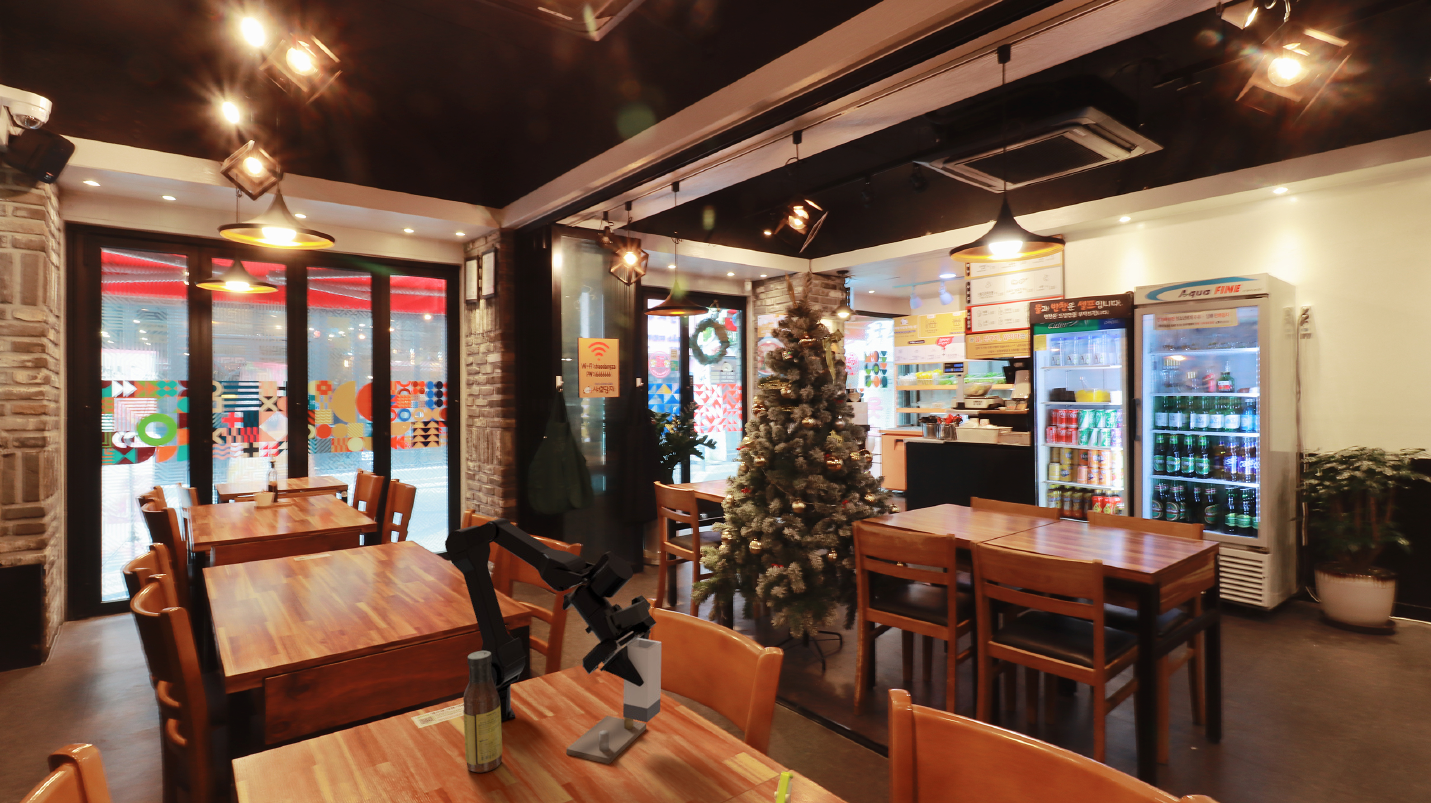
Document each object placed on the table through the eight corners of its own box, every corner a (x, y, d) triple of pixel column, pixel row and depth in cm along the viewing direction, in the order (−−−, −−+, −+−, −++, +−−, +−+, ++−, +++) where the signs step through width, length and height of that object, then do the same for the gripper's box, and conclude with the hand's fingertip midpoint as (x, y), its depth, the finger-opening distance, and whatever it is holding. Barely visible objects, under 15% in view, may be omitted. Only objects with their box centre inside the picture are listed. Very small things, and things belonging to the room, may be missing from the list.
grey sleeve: (623, 717, 127) (624, 646, 127) (636, 706, 131) (638, 637, 132) (647, 722, 125) (648, 650, 125) (660, 711, 129) (661, 641, 130)
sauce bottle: (507, 756, 126) (507, 648, 125) (493, 775, 119) (492, 661, 119) (473, 755, 126) (472, 647, 126) (457, 773, 120) (456, 660, 120)
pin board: (566, 754, 127) (566, 732, 127) (606, 720, 139) (606, 700, 139) (608, 764, 123) (608, 741, 123) (646, 728, 136) (646, 708, 136)
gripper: (596, 599, 121) (652, 672, 117) (647, 573, 138) (697, 636, 134) (559, 638, 124) (612, 710, 120) (613, 608, 141) (661, 670, 137)
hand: (649, 679), depth 128 cm, fingers closed on grey sleeve, 5 cm apart
